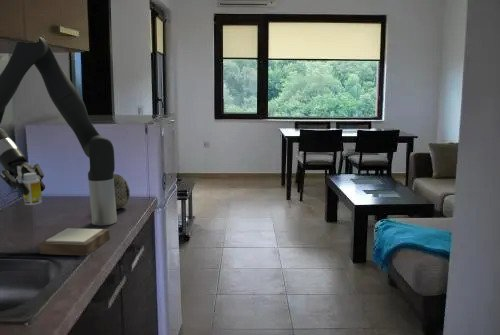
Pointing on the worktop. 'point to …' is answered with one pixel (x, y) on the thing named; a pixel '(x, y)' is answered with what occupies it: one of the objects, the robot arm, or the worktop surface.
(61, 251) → the walnut stand
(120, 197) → the decorative egg
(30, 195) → the supplement bottle
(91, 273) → the worktop surface
